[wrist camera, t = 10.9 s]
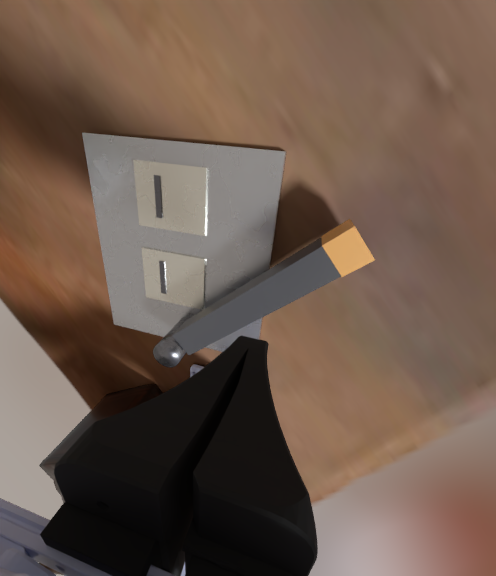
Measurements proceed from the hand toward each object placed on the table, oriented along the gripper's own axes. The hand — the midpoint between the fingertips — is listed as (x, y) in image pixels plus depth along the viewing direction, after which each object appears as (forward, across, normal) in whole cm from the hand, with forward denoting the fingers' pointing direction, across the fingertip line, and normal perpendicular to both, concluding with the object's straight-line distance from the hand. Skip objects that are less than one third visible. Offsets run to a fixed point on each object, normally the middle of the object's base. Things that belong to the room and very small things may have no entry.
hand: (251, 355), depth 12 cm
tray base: (+10, +9, 0) cm, 14 cm away
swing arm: (+8, +1, +1) cm, 8 cm away
